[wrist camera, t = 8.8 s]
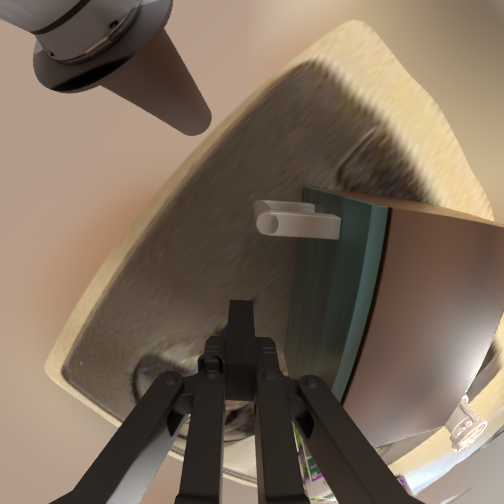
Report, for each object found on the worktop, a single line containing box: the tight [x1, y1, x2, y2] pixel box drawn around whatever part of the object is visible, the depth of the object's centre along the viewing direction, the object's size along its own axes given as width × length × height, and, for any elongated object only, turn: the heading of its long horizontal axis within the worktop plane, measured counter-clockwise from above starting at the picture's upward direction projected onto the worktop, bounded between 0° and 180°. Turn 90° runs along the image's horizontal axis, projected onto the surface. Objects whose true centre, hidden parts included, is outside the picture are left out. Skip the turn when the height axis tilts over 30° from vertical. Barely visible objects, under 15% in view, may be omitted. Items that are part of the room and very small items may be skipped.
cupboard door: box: [252, 187, 388, 457], centre depth 22 cm, size 6×20×16 cm, turn 176°
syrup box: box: [294, 427, 336, 502], centre depth 30 cm, size 6×6×14 cm
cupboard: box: [317, 188, 504, 447], centre depth 23 cm, size 14×20×16 cm
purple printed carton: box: [397, 475, 414, 497], centre depth 43 cm, size 19×5×18 cm, turn 31°
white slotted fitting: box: [444, 394, 488, 452], centre depth 30 cm, size 7×7×15 cm
